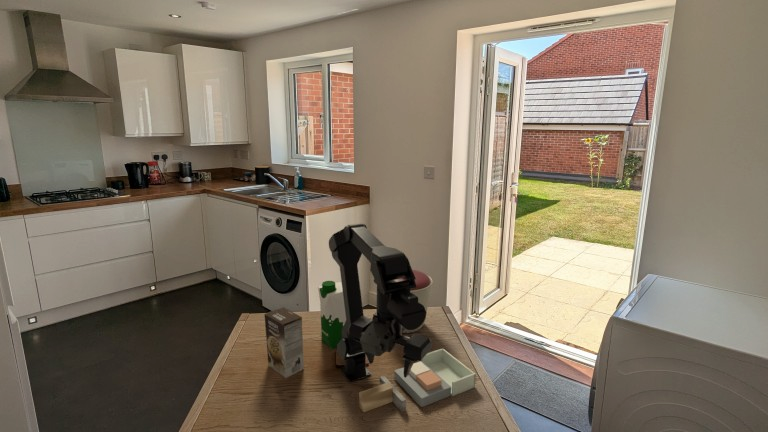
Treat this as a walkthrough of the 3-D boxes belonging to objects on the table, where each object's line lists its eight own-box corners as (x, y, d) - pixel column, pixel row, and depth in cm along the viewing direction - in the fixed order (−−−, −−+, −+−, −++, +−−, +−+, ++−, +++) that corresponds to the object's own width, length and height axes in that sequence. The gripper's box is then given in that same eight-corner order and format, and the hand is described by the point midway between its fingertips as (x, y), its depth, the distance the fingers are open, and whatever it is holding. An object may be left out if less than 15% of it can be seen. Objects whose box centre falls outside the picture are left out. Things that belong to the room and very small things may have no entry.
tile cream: (406, 370, 111) (406, 365, 110) (420, 366, 113) (420, 361, 113) (415, 379, 107) (415, 374, 107) (429, 374, 109) (430, 369, 109)
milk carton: (317, 339, 131) (315, 280, 127) (342, 331, 136) (341, 274, 132) (330, 351, 124) (328, 289, 120) (356, 342, 129) (355, 283, 125)
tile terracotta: (416, 380, 107) (416, 375, 106) (431, 375, 109) (431, 370, 108) (426, 390, 103) (426, 385, 102) (441, 385, 105) (441, 380, 105)
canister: (438, 336, 133) (441, 274, 128) (384, 342, 130) (384, 279, 125) (422, 311, 150) (423, 256, 146) (373, 315, 147) (373, 259, 142)
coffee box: (267, 365, 117) (263, 313, 114) (286, 356, 122) (283, 305, 118) (285, 379, 111) (282, 324, 108) (305, 368, 116) (302, 316, 112)
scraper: (352, 396, 105) (351, 382, 104) (383, 385, 109) (383, 371, 108) (372, 423, 95) (372, 408, 94) (405, 410, 100) (406, 396, 99)
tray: (421, 367, 116) (421, 355, 115) (442, 360, 120) (442, 348, 119) (452, 396, 104) (453, 382, 104) (474, 387, 108) (475, 373, 107)
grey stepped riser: (394, 378, 112) (394, 370, 111) (421, 369, 116) (422, 361, 115) (421, 407, 101) (421, 398, 100) (450, 395, 105) (451, 386, 104)
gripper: (332, 311, 89) (334, 374, 93) (409, 337, 79) (407, 406, 83) (362, 292, 98) (362, 350, 102) (434, 313, 88) (430, 376, 93)
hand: (388, 369), depth 95 cm, fingers open, 9 cm apart
